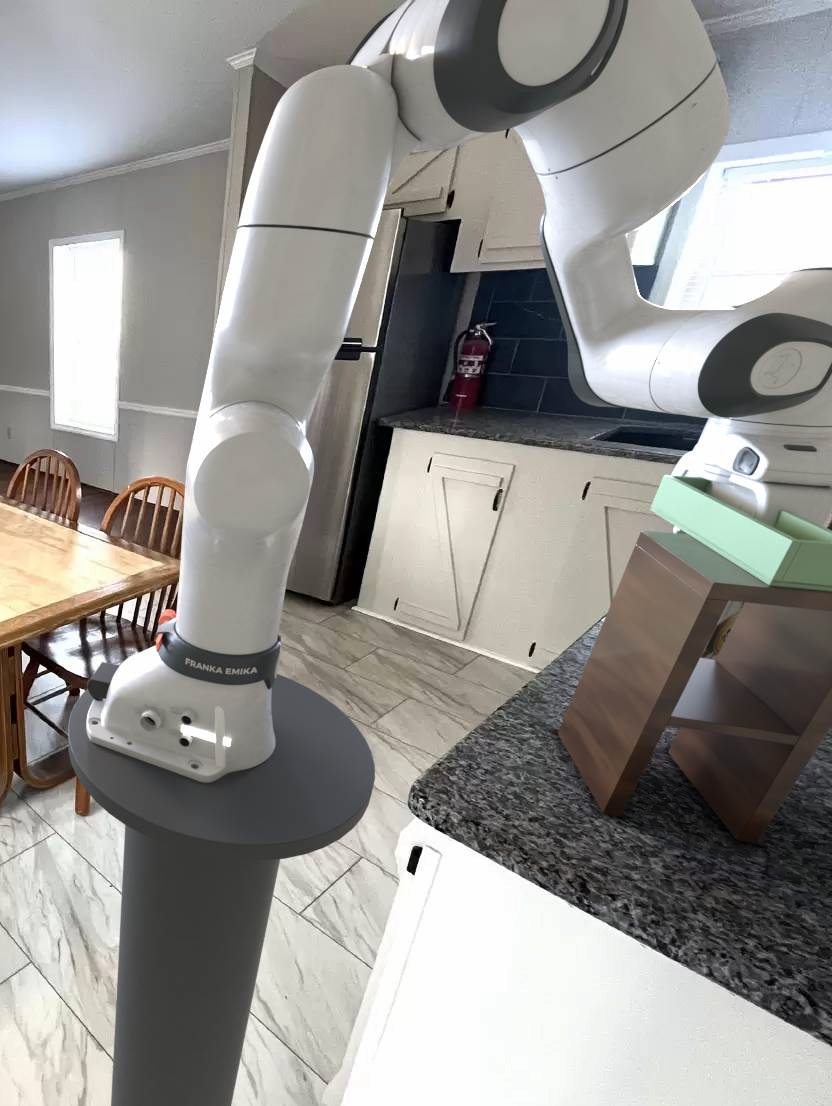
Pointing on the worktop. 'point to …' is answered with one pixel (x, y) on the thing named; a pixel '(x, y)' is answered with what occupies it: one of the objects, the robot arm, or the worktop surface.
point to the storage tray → (749, 535)
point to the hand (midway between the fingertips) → (696, 574)
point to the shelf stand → (703, 683)
